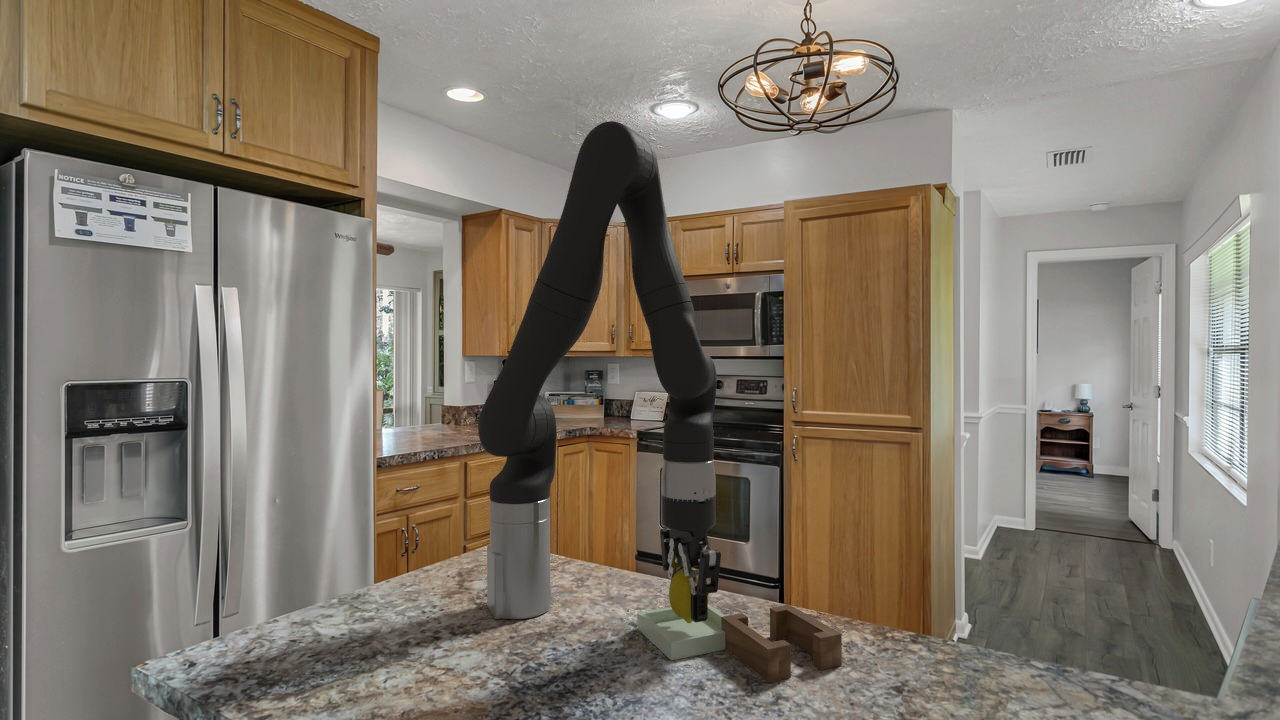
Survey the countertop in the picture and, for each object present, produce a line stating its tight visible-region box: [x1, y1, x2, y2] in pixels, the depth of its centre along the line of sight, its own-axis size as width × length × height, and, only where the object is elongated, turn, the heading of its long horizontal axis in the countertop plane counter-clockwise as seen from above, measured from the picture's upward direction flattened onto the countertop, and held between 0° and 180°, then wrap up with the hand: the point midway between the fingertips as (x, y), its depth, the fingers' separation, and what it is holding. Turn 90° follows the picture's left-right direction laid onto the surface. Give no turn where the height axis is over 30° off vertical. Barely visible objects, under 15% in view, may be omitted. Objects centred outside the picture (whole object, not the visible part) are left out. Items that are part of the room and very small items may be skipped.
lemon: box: [668, 567, 710, 623], centre depth 94 cm, size 6×6×8 cm
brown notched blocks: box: [721, 604, 843, 683], centre depth 88 cm, size 11×11×4 cm
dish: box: [636, 603, 727, 661], centre depth 94 cm, size 11×11×2 cm
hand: (688, 612), depth 94 cm, fingers closed on lemon, 5 cm apart
